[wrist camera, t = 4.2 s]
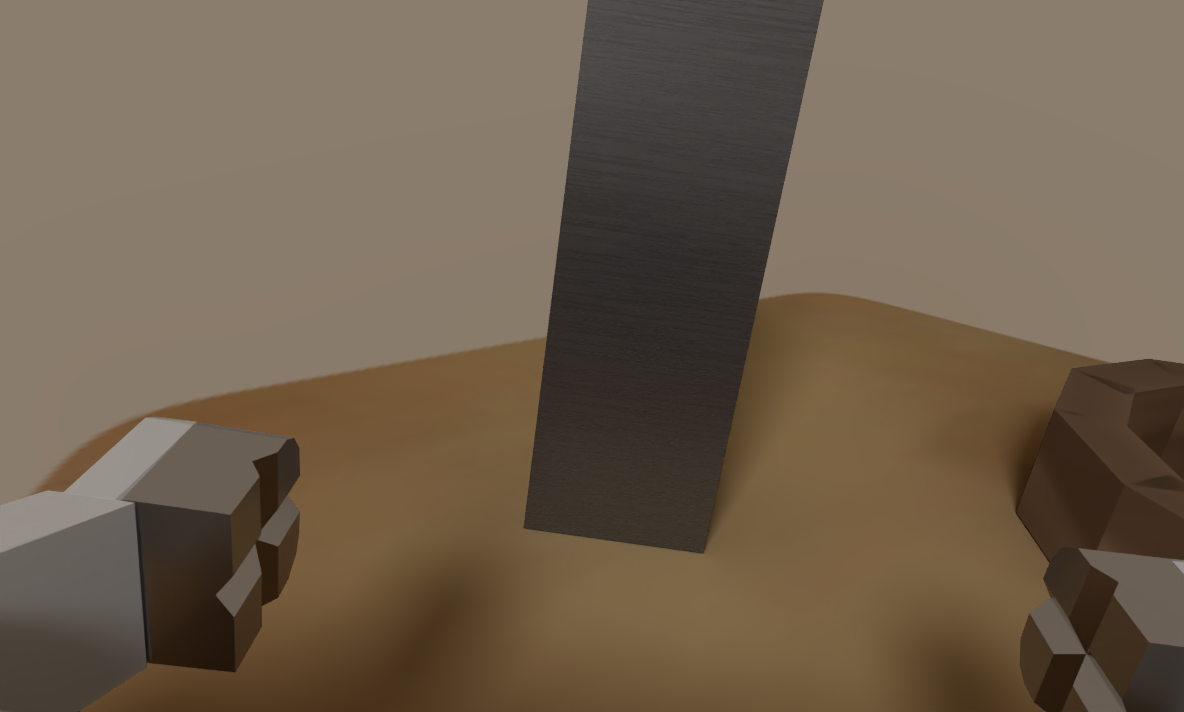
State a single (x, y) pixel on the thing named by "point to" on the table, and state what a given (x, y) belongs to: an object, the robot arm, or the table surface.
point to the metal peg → (662, 259)
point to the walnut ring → (1112, 463)
